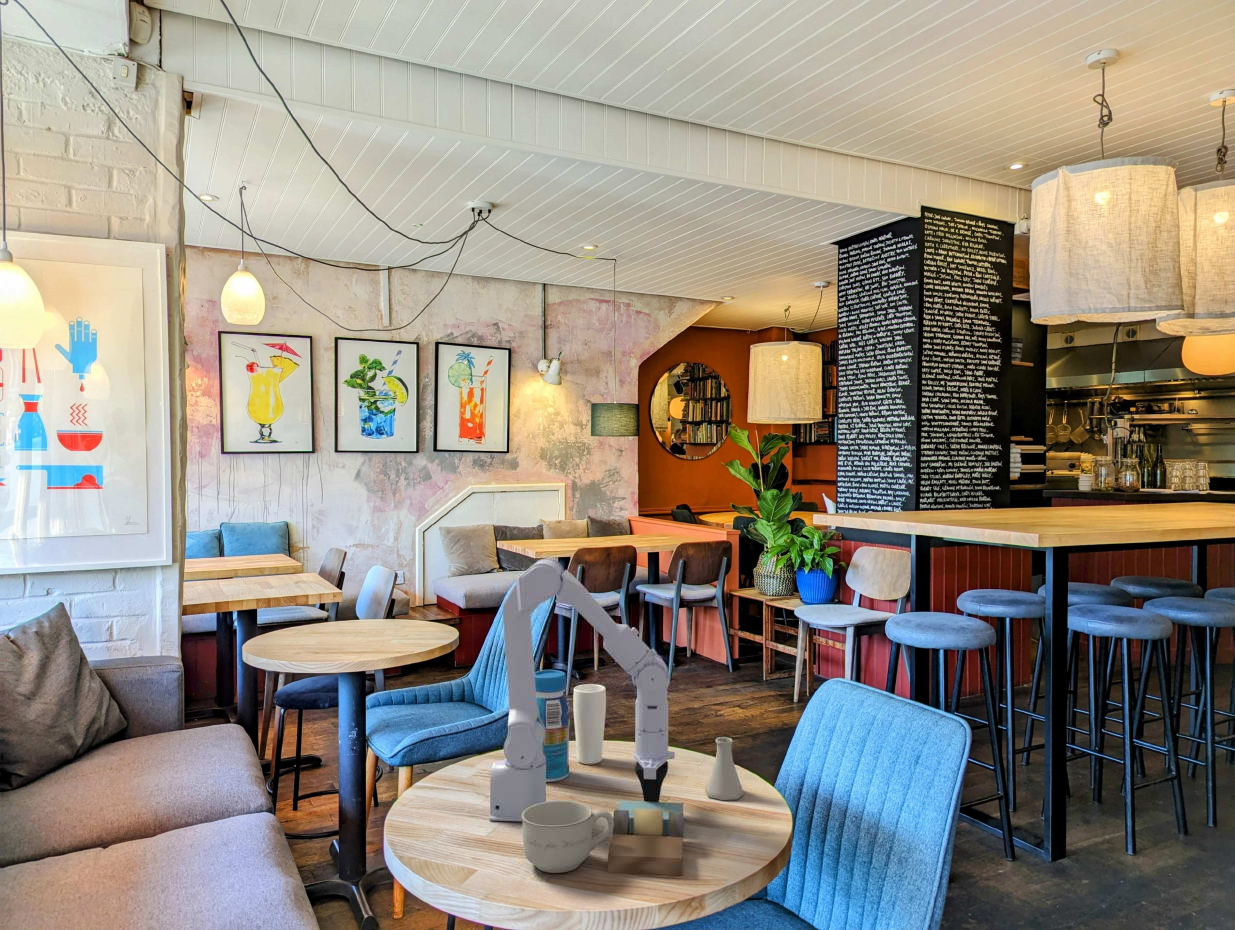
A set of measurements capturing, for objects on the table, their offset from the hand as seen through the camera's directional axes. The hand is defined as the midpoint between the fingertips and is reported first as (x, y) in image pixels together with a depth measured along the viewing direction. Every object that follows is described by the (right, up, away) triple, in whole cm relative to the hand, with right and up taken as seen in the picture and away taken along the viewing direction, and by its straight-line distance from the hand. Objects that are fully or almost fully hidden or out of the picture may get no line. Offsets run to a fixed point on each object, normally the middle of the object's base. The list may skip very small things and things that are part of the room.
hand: (651, 806), depth 141 cm
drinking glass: (-12, -2, +27) cm, 29 cm away
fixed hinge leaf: (-1, -1, -15) cm, 15 cm away
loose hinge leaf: (-1, -1, -7) cm, 7 cm away
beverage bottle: (-19, -2, +18) cm, 27 cm away
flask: (+14, -2, +9) cm, 17 cm away
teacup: (-13, -1, -18) cm, 23 cm away
